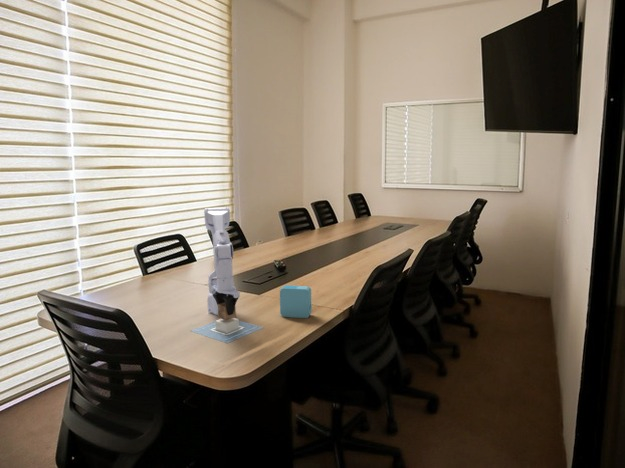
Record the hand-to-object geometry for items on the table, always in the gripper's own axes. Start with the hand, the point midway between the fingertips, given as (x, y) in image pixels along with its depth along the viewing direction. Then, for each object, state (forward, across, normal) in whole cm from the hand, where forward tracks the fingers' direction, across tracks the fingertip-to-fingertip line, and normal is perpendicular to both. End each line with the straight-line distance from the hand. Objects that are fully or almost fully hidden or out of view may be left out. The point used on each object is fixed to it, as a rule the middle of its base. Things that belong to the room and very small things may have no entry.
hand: (226, 313), depth 164 cm
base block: (+6, 0, 0) cm, 6 cm away
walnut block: (+2, 0, 0) cm, 2 cm away
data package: (+8, -7, -29) cm, 31 cm away
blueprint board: (+7, 0, 0) cm, 7 cm away
